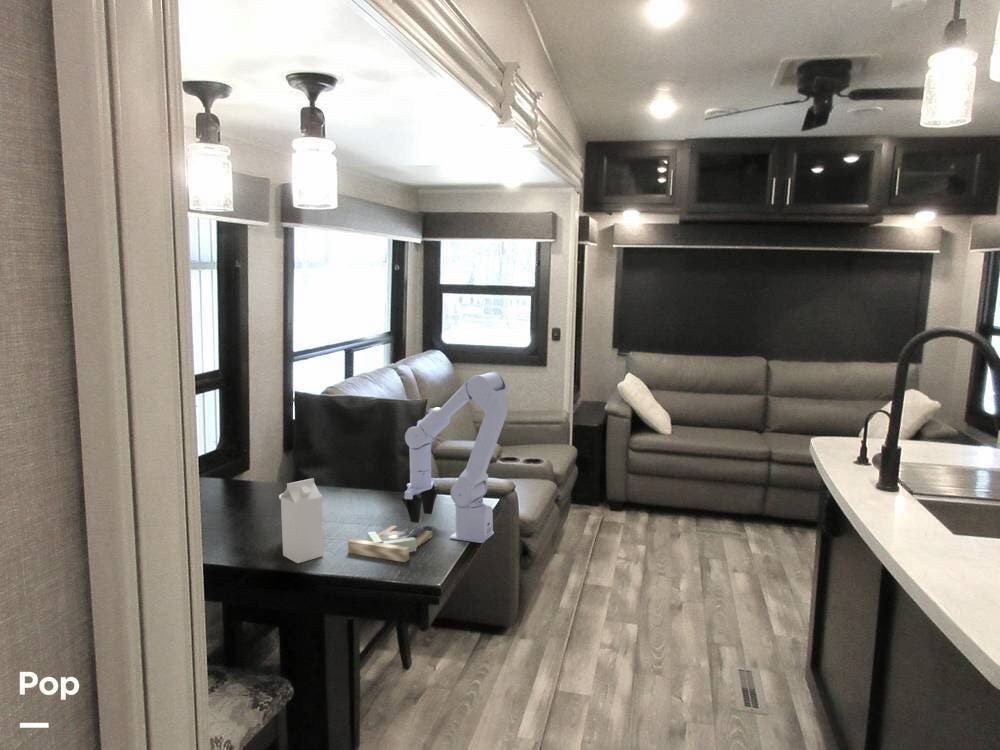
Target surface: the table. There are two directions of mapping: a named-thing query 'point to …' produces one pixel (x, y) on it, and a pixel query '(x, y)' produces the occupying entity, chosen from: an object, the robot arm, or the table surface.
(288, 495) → the milk carton
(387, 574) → the table surface
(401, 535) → the aluminium cover
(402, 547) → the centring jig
